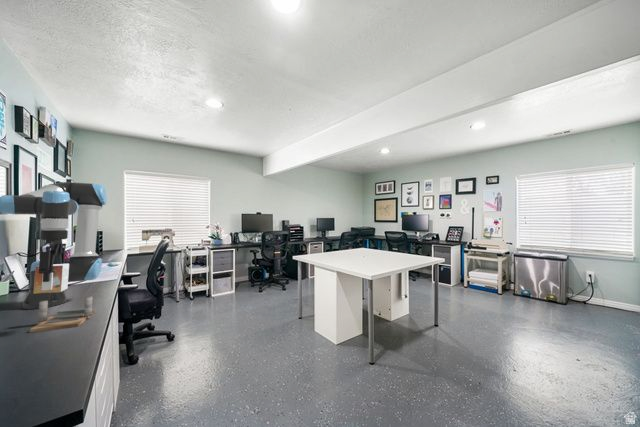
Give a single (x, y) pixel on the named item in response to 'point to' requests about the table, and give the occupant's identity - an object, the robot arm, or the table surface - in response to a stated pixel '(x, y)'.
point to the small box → (59, 279)
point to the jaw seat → (62, 317)
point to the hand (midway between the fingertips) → (51, 287)
